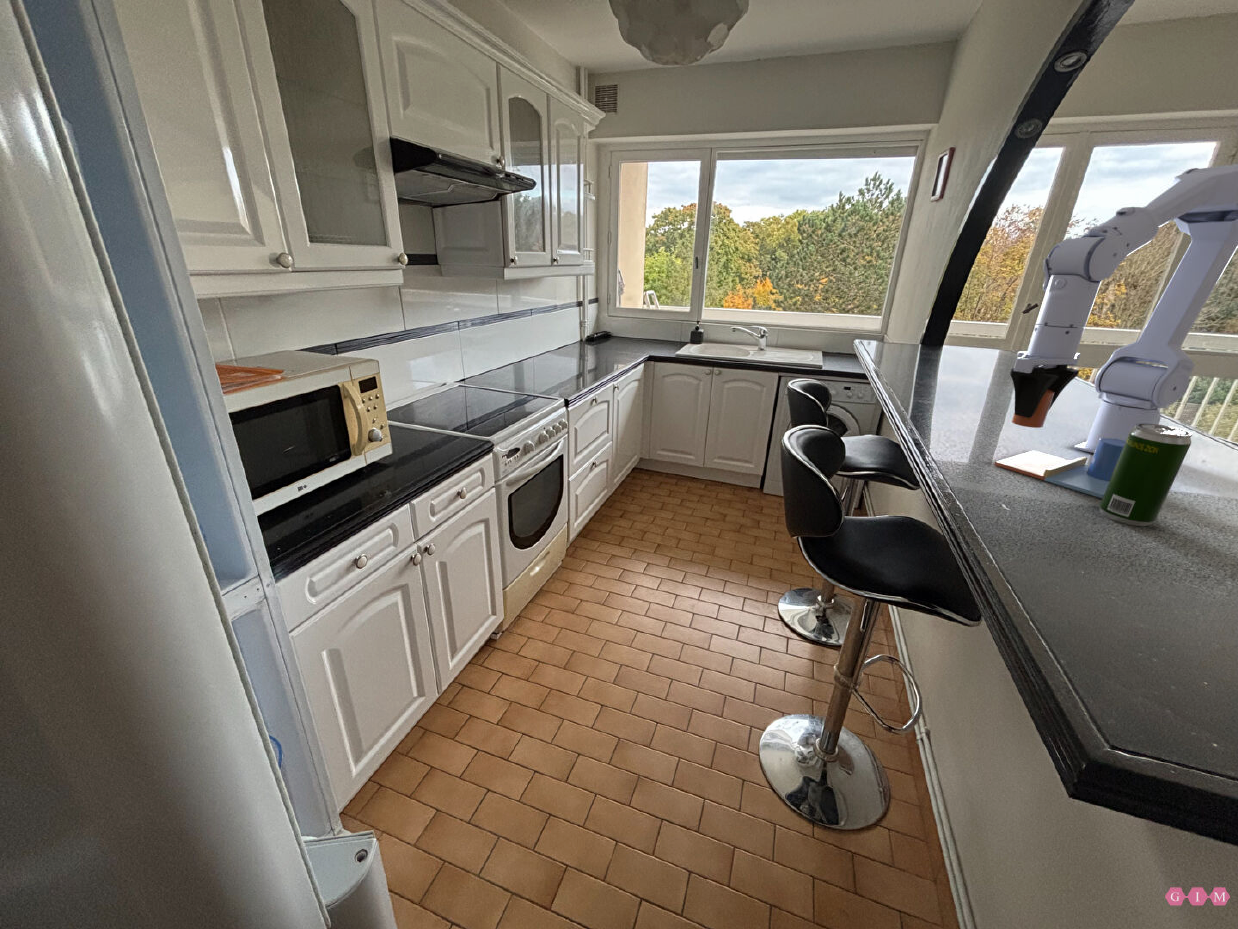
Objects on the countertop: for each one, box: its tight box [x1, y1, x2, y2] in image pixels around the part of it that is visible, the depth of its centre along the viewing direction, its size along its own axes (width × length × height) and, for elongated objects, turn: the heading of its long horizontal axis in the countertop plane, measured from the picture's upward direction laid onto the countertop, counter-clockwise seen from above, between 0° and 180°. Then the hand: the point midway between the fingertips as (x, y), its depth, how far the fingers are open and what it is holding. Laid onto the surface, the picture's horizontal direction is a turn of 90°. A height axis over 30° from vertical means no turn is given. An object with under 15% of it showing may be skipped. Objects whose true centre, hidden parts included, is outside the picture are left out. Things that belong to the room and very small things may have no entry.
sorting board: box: [993, 450, 1109, 499], centre depth 79 cm, size 12×14×2 cm
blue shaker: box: [1087, 438, 1126, 481], centre depth 76 cm, size 4×4×6 cm
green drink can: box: [1099, 423, 1193, 527], centre depth 63 cm, size 5×5×12 cm
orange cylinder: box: [1011, 389, 1055, 429], centre depth 79 cm, size 4×4×6 cm
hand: (1030, 414), depth 80 cm, fingers closed on orange cylinder, 4 cm apart
